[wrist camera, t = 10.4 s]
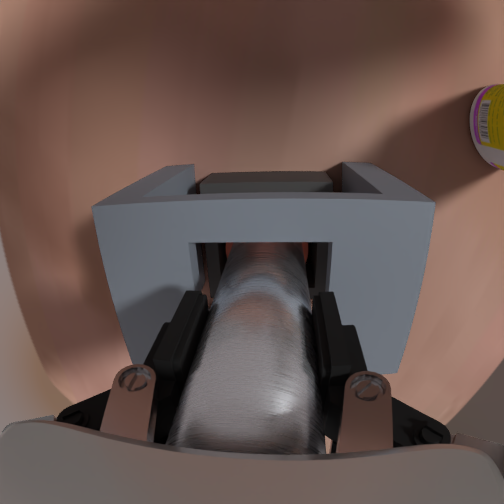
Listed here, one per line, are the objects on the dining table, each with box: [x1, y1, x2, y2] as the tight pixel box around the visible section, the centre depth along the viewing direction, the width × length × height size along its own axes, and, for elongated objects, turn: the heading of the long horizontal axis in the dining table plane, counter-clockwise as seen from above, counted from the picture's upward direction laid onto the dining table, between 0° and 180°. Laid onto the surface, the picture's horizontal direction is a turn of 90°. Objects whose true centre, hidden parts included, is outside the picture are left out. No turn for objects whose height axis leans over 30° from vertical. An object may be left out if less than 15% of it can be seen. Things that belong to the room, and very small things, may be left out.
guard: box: [92, 162, 436, 374], centre depth 18 cm, size 14×9×10 cm, turn 92°
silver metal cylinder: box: [165, 242, 326, 455], centre depth 12 cm, size 4×4×14 cm
